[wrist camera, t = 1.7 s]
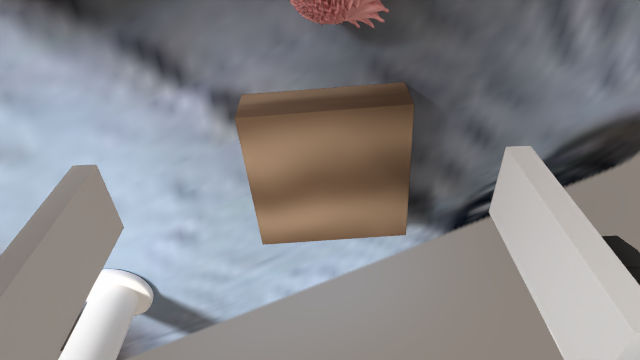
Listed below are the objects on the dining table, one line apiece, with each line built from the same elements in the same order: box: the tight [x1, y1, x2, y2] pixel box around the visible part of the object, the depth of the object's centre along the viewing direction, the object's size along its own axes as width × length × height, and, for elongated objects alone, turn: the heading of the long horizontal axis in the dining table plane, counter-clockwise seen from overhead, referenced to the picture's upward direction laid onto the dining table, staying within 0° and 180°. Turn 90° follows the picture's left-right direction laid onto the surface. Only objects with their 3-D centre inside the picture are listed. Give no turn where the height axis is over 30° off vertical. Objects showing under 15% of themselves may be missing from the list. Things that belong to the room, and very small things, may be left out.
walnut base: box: [235, 82, 414, 244], centre depth 33 cm, size 12×12×4 cm
